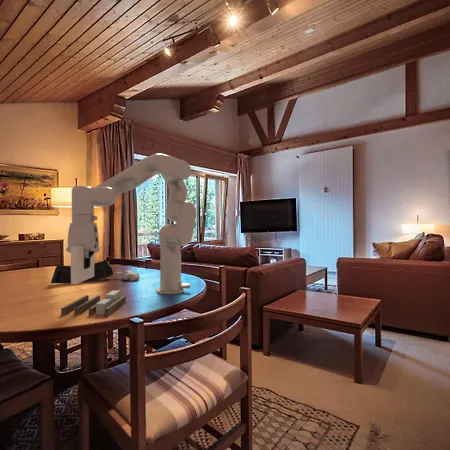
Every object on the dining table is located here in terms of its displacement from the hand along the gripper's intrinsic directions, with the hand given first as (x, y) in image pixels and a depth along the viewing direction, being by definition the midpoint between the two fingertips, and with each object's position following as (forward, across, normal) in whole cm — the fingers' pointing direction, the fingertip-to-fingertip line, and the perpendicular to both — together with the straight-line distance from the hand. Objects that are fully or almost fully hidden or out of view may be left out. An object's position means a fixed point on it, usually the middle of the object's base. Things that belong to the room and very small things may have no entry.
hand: (83, 267), depth 113 cm
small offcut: (+15, -10, +5) cm, 19 cm away
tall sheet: (+5, 0, 0) cm, 5 cm away
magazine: (+16, +23, -47) cm, 55 cm away
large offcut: (+15, -10, -4) cm, 19 cm away
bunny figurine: (+16, +1, -55) cm, 58 cm away
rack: (+15, -5, 0) cm, 16 cm away
